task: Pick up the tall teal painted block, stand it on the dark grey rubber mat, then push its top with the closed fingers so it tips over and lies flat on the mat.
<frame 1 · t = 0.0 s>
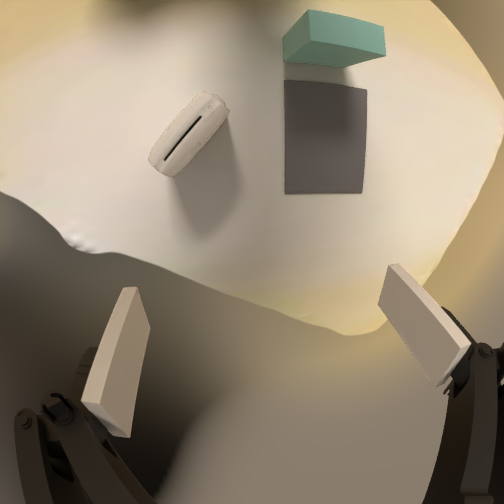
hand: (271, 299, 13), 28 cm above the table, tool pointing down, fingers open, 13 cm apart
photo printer: (195, 130, 34), on the table
mat: (327, 138, 36), on the table
block: (313, 52, 30), on the table
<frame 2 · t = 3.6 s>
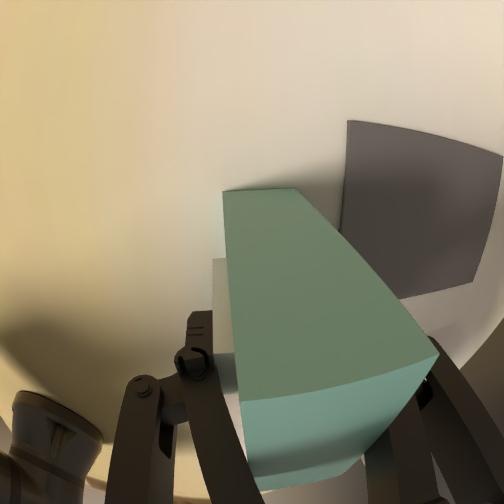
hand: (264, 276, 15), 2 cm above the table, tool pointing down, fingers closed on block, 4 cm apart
mat: (435, 223, 17), on the table
block: (260, 261, 17), on the table, touching gripper
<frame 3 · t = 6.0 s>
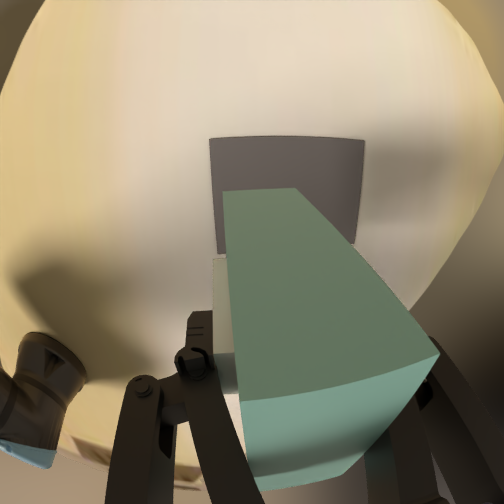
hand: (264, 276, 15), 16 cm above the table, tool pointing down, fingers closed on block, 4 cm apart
mat: (291, 194, 29), on the table
block: (260, 261, 17), point 14 cm above the table, touching gripper
when the fingers open (3 cm above the table, at t = 8.4 s): block stays where it is, resting on mat.
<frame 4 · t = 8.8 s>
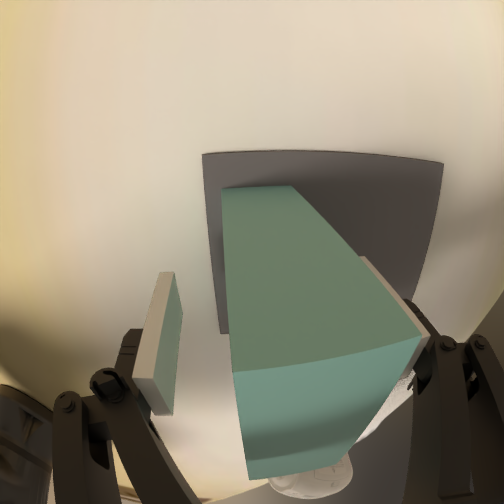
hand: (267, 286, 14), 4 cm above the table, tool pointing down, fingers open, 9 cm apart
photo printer: (294, 398, 27), on the table
mat: (337, 248, 18), on the table
block: (257, 256, 17), resting on mat
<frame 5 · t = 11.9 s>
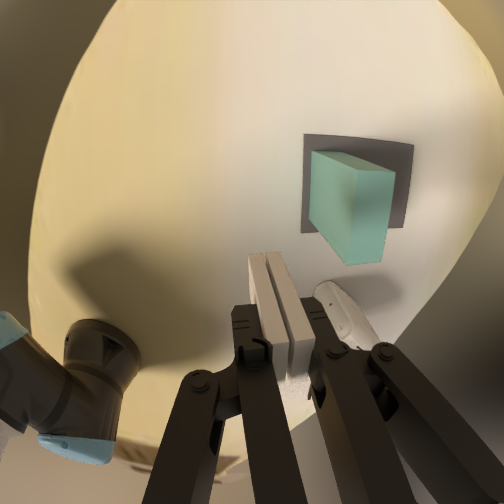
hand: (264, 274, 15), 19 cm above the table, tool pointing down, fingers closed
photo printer: (335, 299, 43), on the table
mat: (361, 185, 34), on the table
block: (325, 185, 33), resting on mat
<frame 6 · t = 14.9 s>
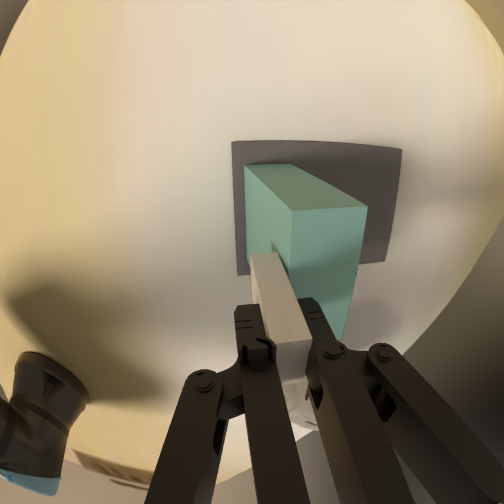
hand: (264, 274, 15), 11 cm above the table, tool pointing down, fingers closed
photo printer: (295, 346, 34), on the table
mat: (323, 208, 25), on the table
block: (267, 213, 24), resting on mat
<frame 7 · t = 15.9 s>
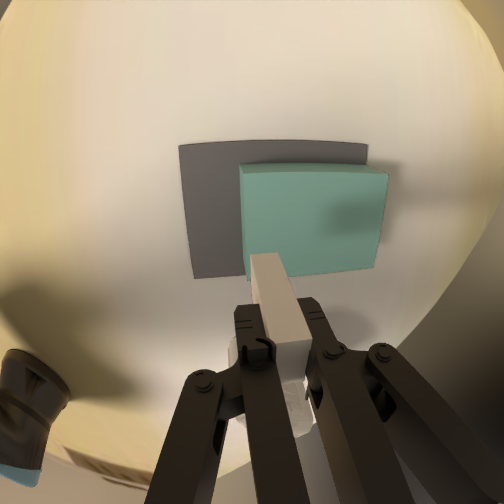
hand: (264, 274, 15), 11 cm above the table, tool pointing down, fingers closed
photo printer: (262, 351, 34), on the table
mat: (278, 210, 25), on the table
block: (243, 221, 23), point 2 cm above the table, tilted 90°, touching mat
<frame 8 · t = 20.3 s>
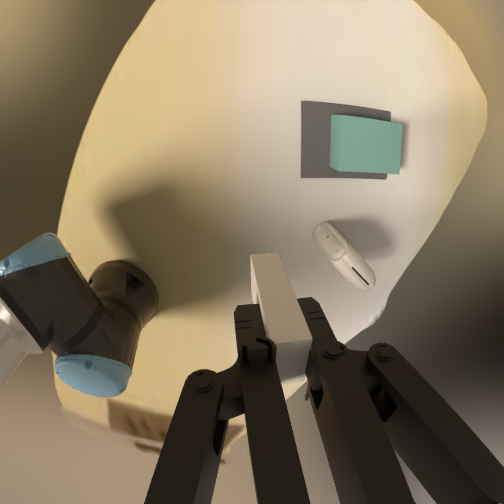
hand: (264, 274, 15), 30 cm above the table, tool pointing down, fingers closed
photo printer: (332, 241, 50), on the table
mat: (348, 141, 41), on the table
block: (335, 141, 39), point 2 cm above the table, tilted 90°, touching mat
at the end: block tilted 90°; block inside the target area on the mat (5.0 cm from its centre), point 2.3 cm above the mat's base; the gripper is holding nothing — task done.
